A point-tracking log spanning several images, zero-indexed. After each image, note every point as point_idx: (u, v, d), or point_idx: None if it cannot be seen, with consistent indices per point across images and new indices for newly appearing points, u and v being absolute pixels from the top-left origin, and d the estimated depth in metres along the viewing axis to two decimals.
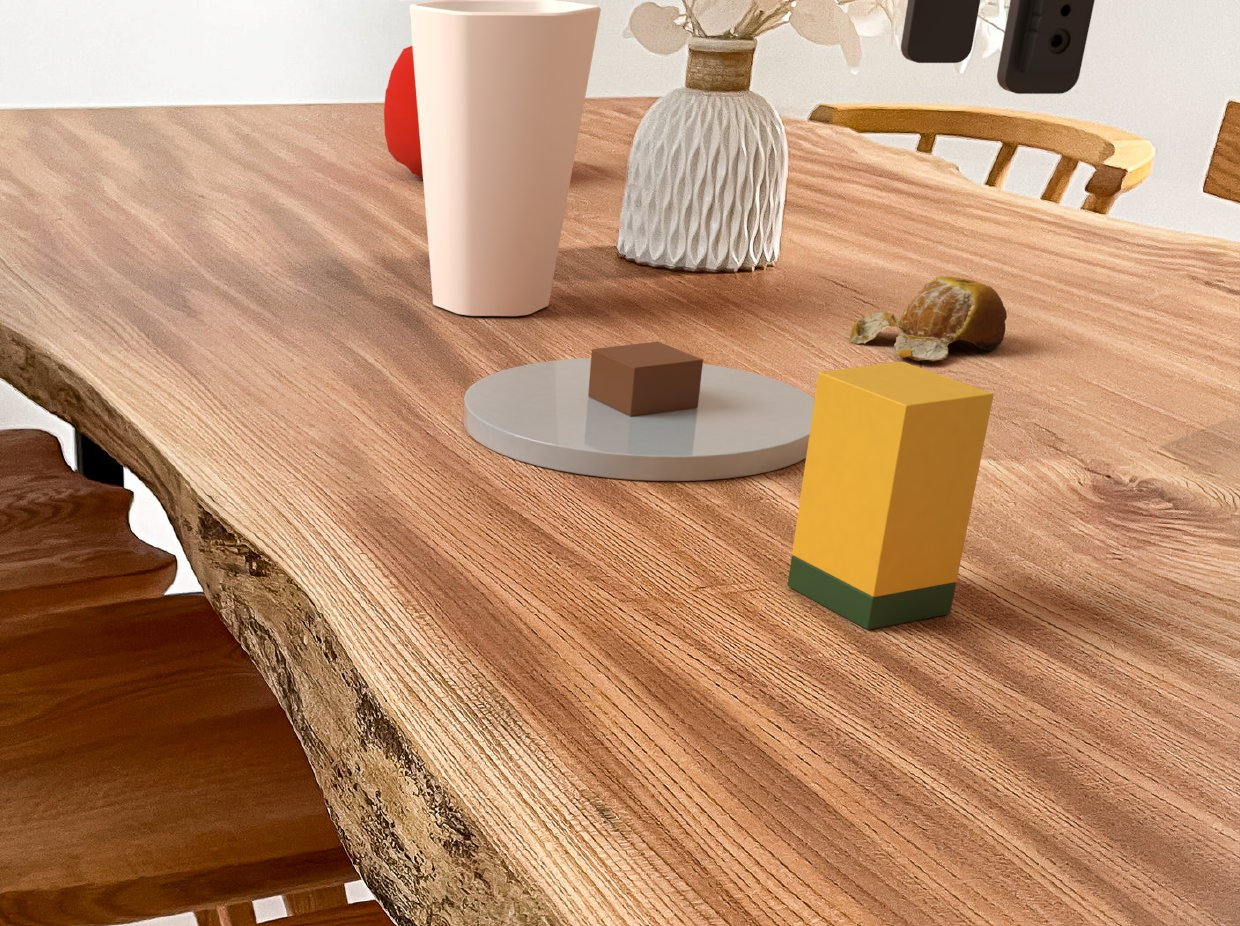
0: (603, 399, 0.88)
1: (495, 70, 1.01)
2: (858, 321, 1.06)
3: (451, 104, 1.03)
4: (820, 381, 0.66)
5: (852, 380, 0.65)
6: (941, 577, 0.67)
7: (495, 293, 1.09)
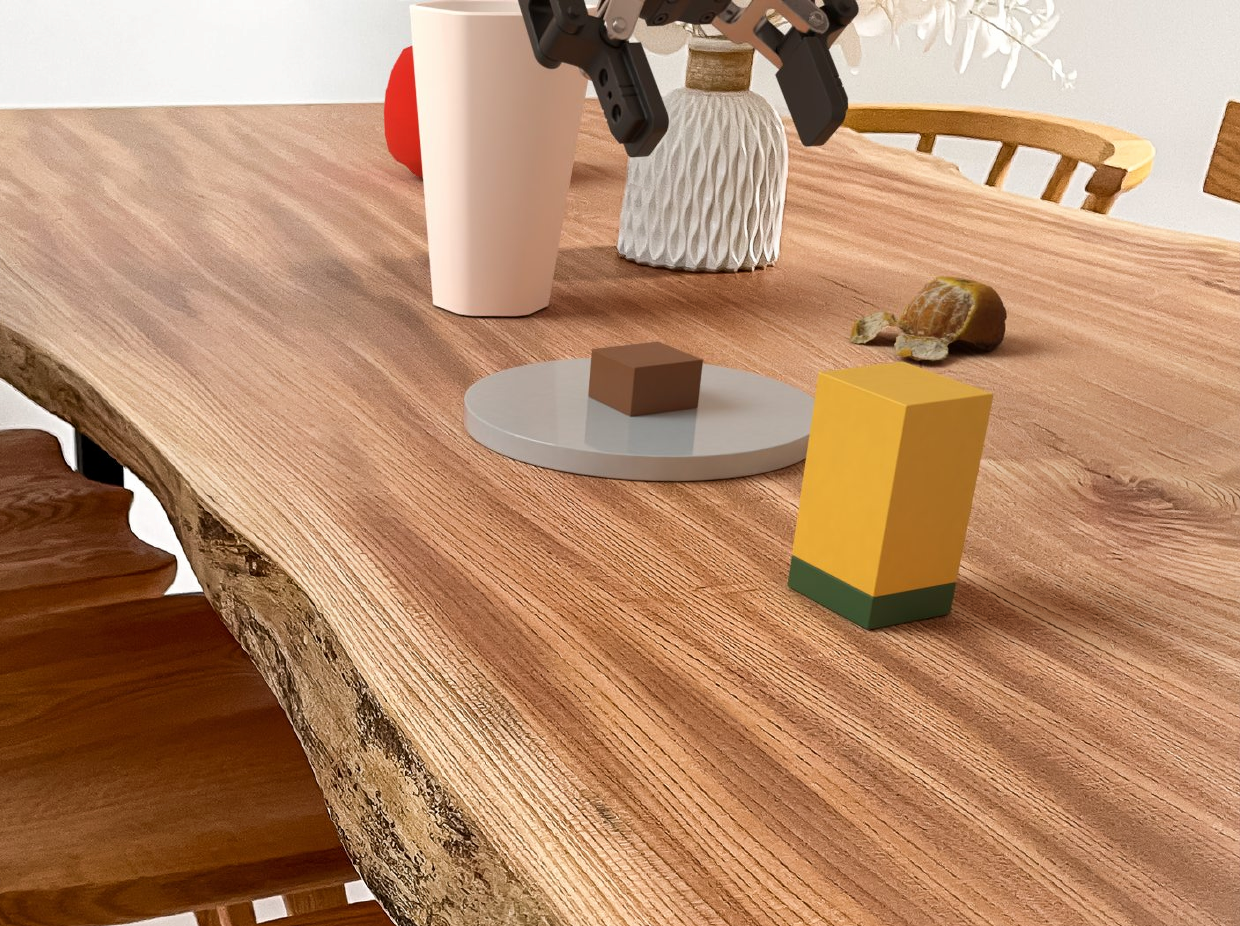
0: (603, 399, 0.88)
1: (495, 70, 1.01)
2: (858, 321, 1.06)
3: (451, 104, 1.03)
4: (820, 381, 0.66)
5: (852, 380, 0.65)
6: (941, 577, 0.67)
7: (495, 293, 1.09)
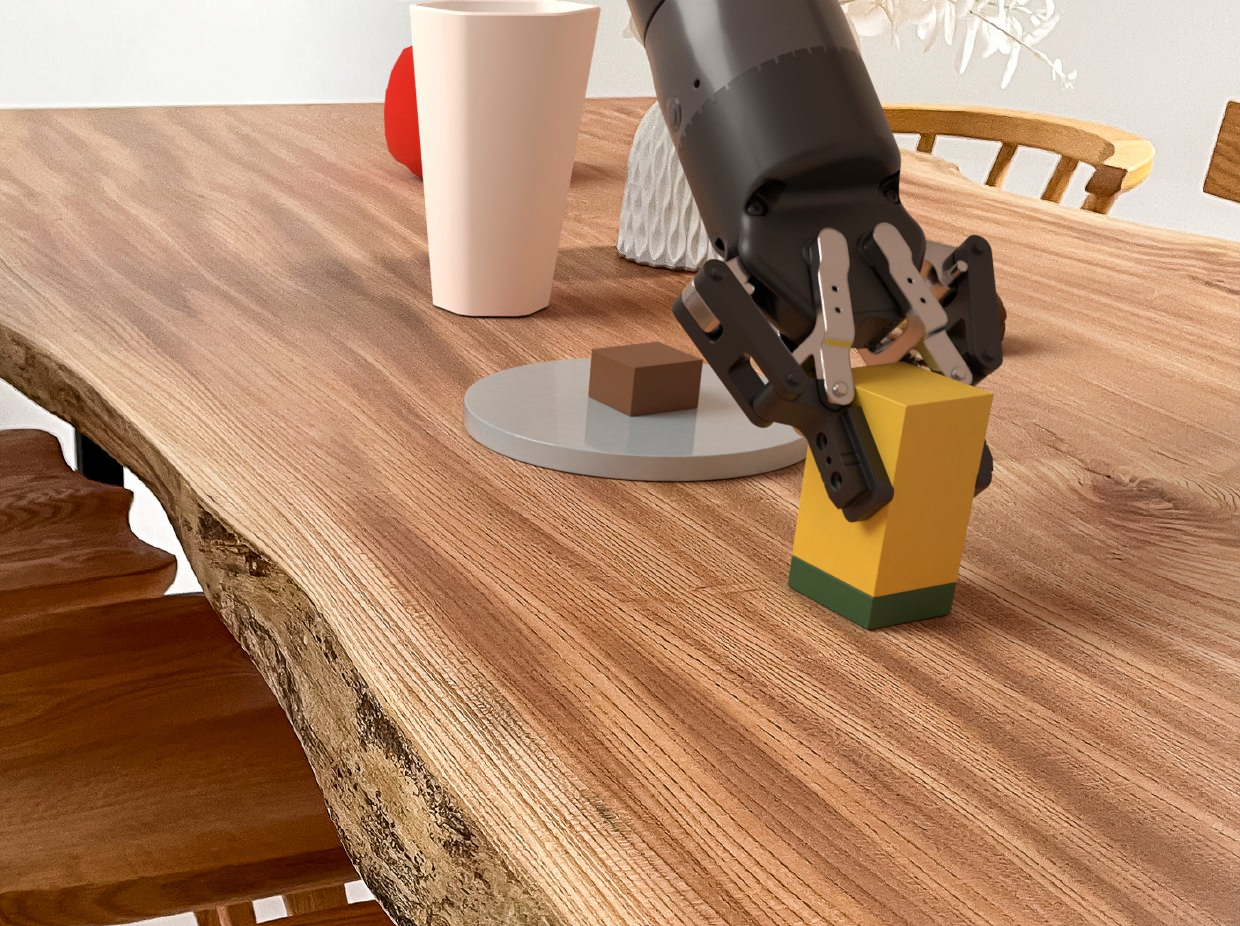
0: (603, 399, 0.88)
1: (495, 70, 1.01)
2: None
3: (451, 104, 1.03)
4: None
5: None
6: (941, 577, 0.67)
7: (495, 293, 1.09)
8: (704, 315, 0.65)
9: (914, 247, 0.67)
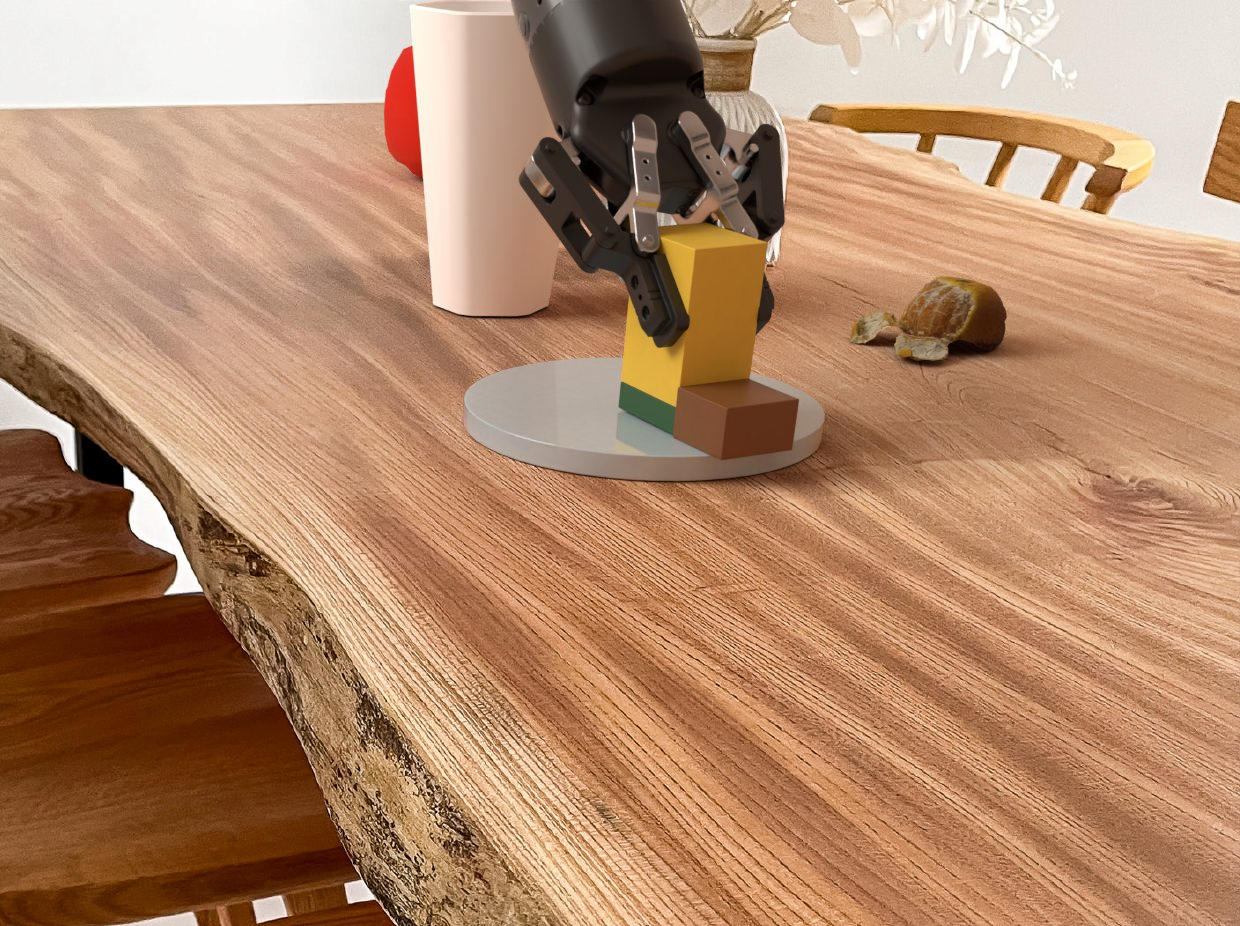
0: (690, 440, 0.82)
1: (495, 70, 1.01)
2: (858, 321, 1.06)
3: (451, 104, 1.03)
4: None
5: (659, 233, 0.82)
6: None
7: (495, 293, 1.09)
8: (541, 182, 0.82)
9: (715, 132, 0.84)
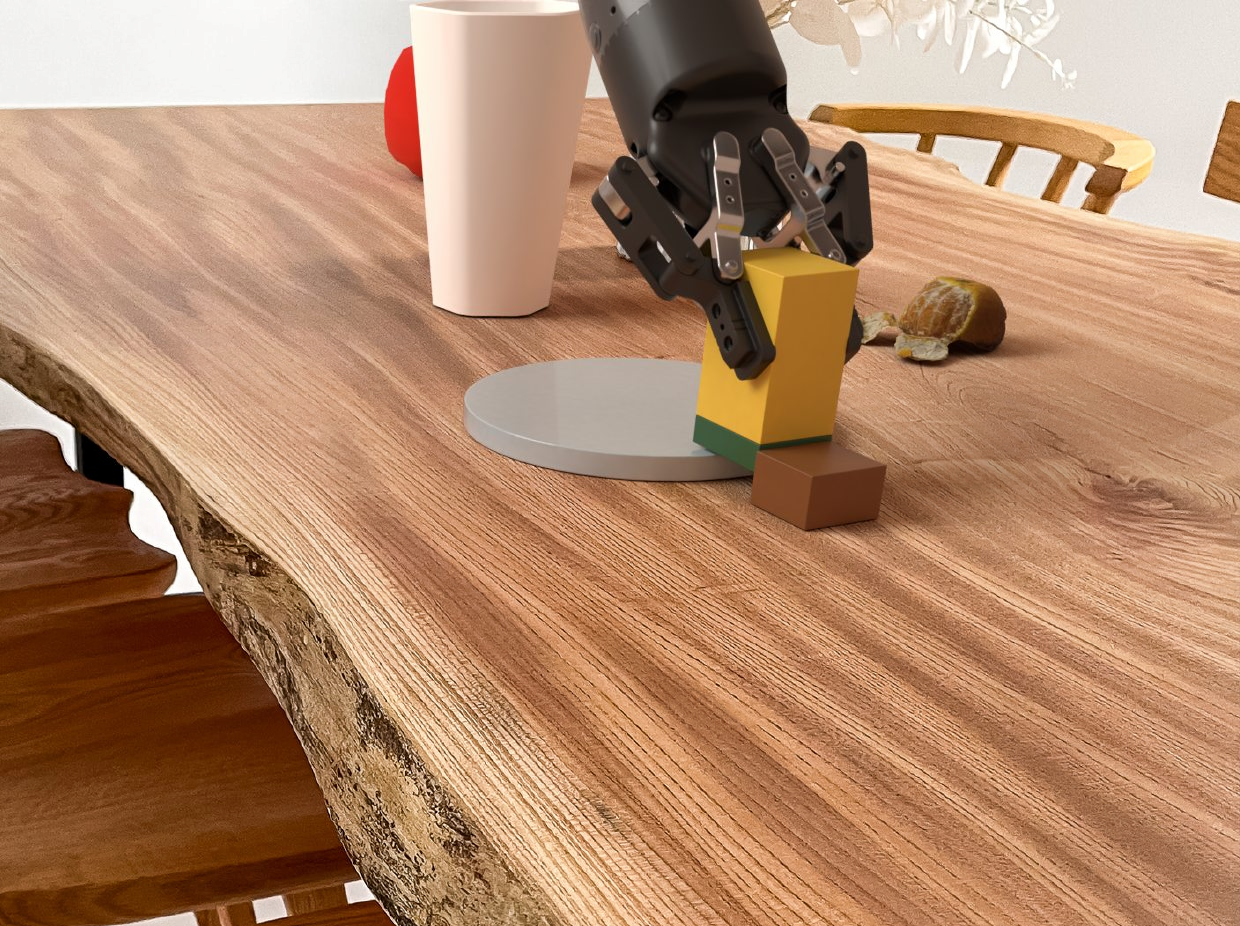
0: (770, 508, 0.78)
1: (495, 70, 1.01)
2: None
3: (451, 104, 1.03)
4: None
5: (742, 258, 0.77)
6: (819, 429, 0.79)
7: (495, 293, 1.09)
8: (617, 204, 0.77)
9: (799, 150, 0.79)
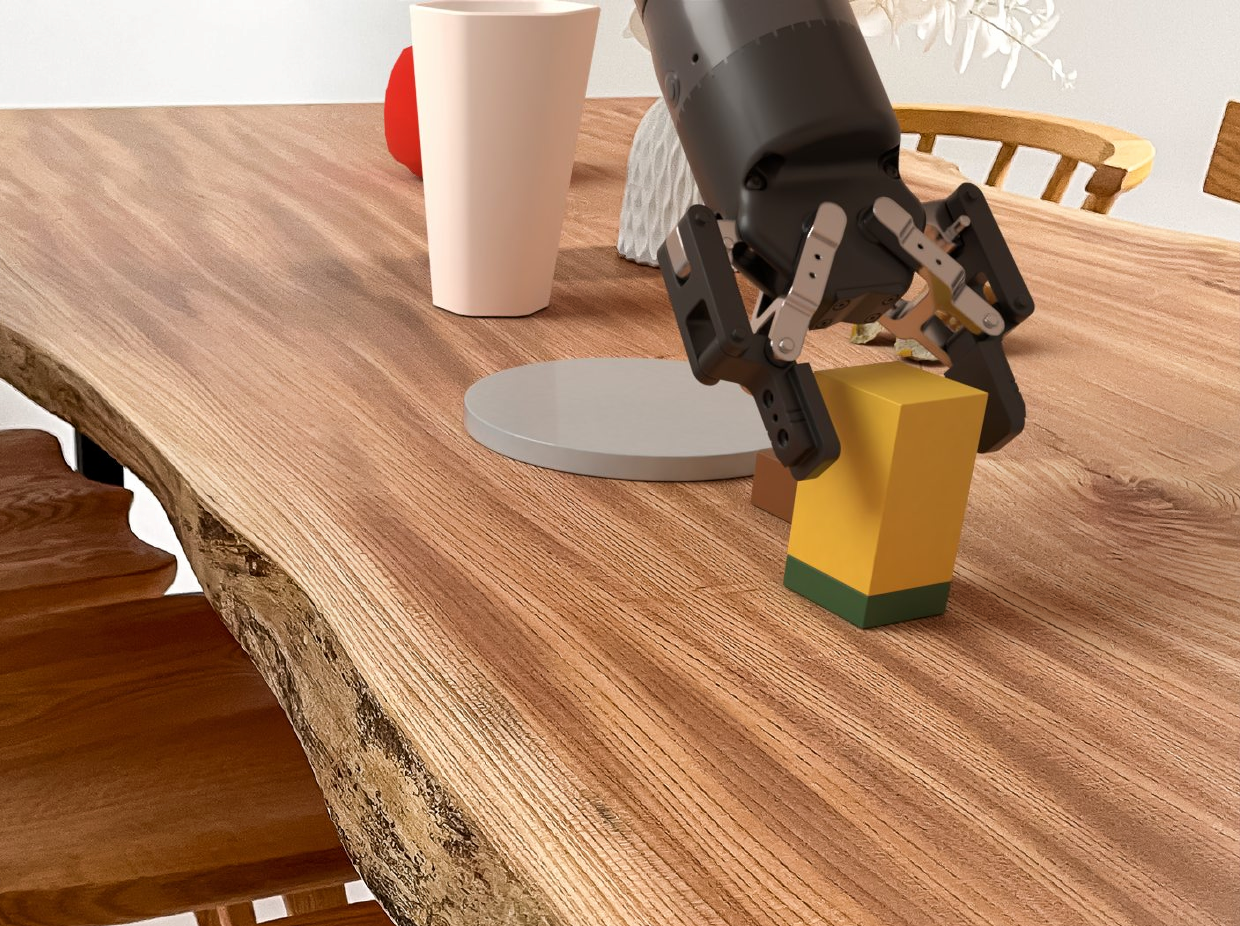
0: (770, 508, 0.78)
1: (495, 70, 1.01)
2: None
3: (451, 104, 1.03)
4: None
5: (847, 379, 0.65)
6: (936, 576, 0.67)
7: (495, 293, 1.09)
8: (679, 257, 0.64)
9: (918, 219, 0.67)
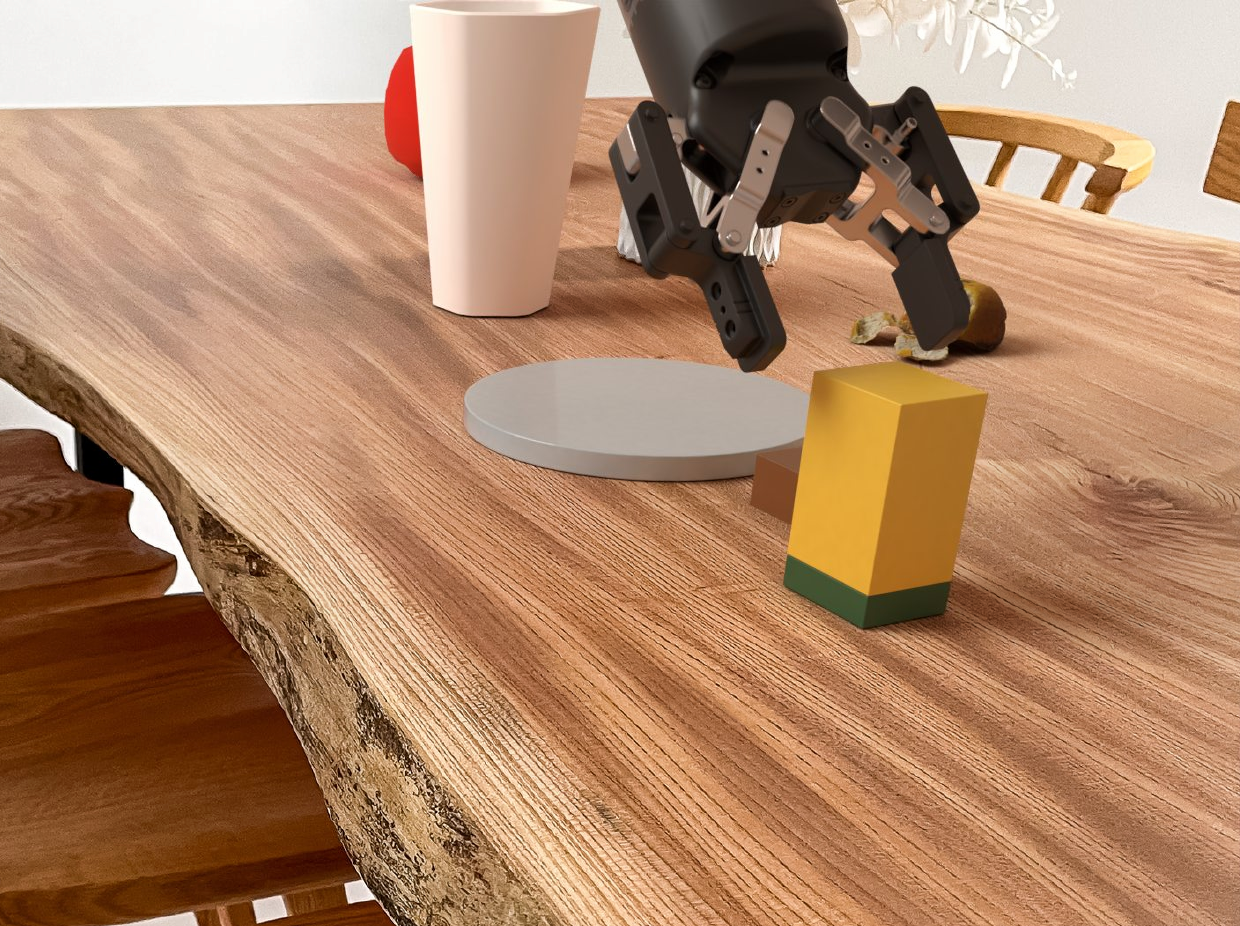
0: (770, 510, 0.78)
1: (495, 70, 1.01)
2: (858, 321, 1.06)
3: (451, 104, 1.03)
4: (815, 380, 0.66)
5: (847, 379, 0.65)
6: (936, 576, 0.67)
7: (495, 293, 1.09)
8: (629, 153, 0.66)
9: (866, 121, 0.69)
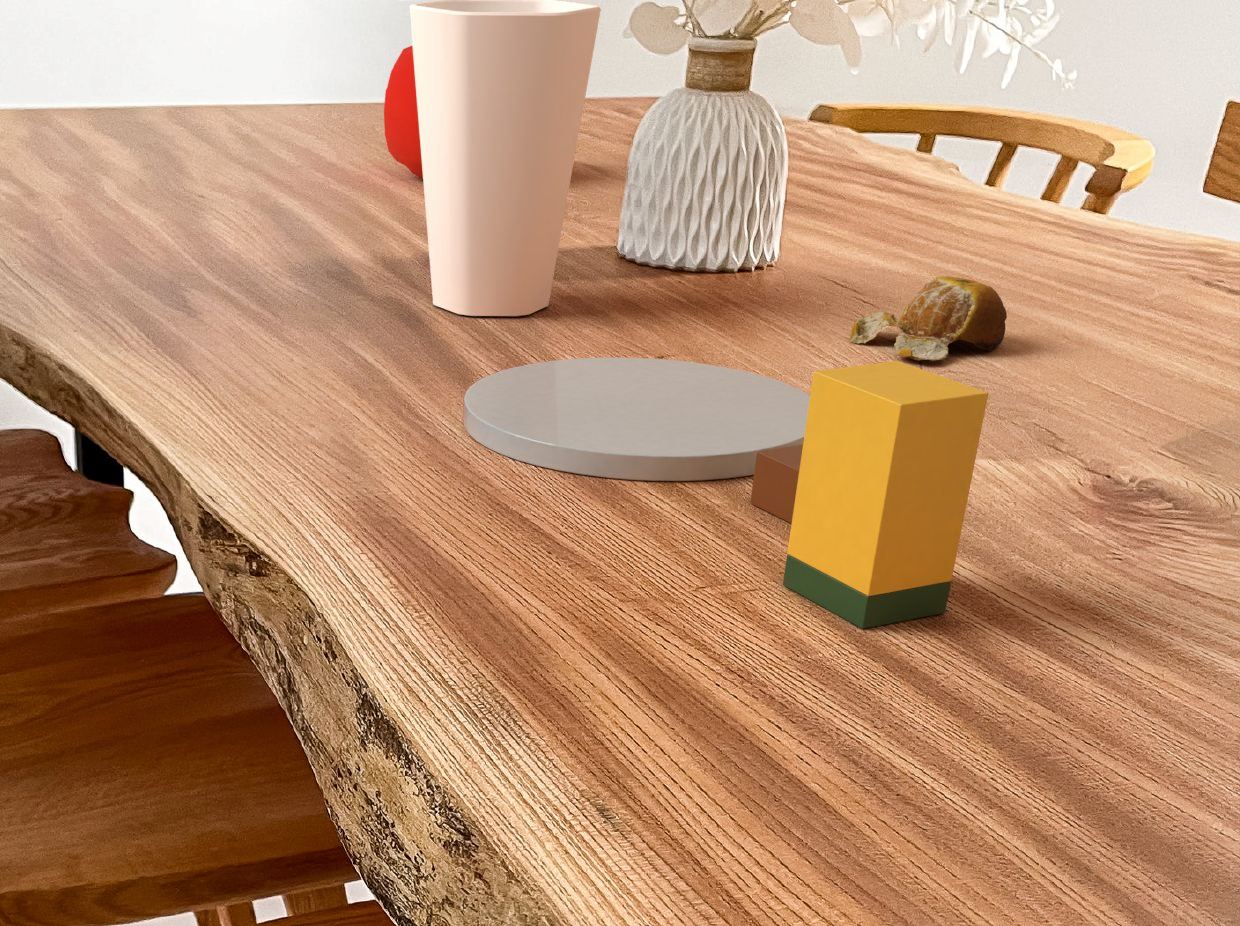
0: (770, 508, 0.78)
1: (495, 70, 1.01)
2: (858, 321, 1.06)
3: (451, 104, 1.03)
4: (814, 380, 0.66)
5: (847, 379, 0.65)
6: (936, 576, 0.67)
7: (495, 293, 1.09)
8: None
9: None
